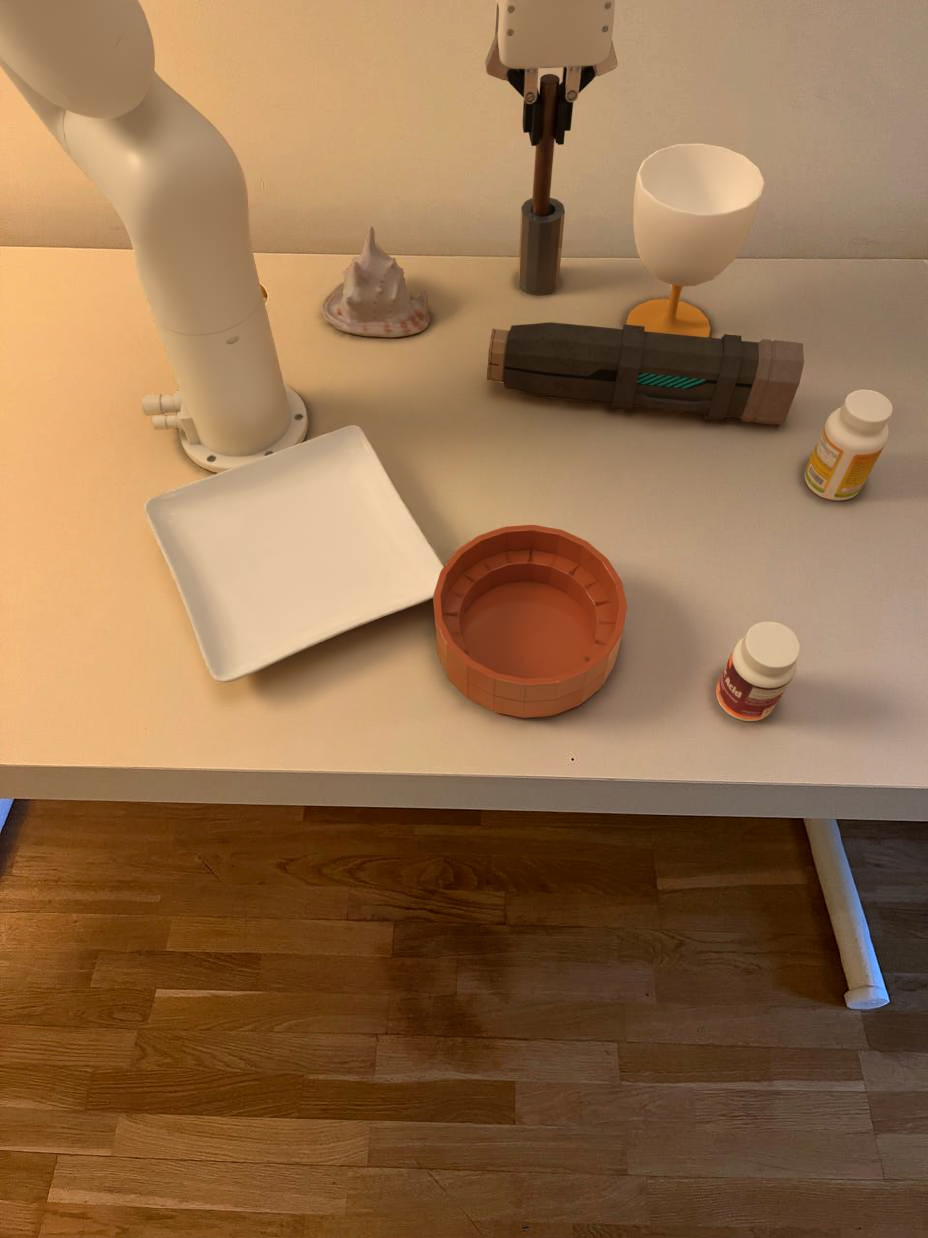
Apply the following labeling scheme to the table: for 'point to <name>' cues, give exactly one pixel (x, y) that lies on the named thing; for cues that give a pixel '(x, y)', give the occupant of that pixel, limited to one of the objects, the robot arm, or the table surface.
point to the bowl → (528, 620)
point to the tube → (649, 369)
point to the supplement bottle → (849, 445)
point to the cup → (690, 226)
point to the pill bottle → (758, 671)
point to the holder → (540, 248)
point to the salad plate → (291, 551)
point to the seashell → (375, 297)
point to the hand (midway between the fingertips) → (545, 136)
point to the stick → (545, 145)
